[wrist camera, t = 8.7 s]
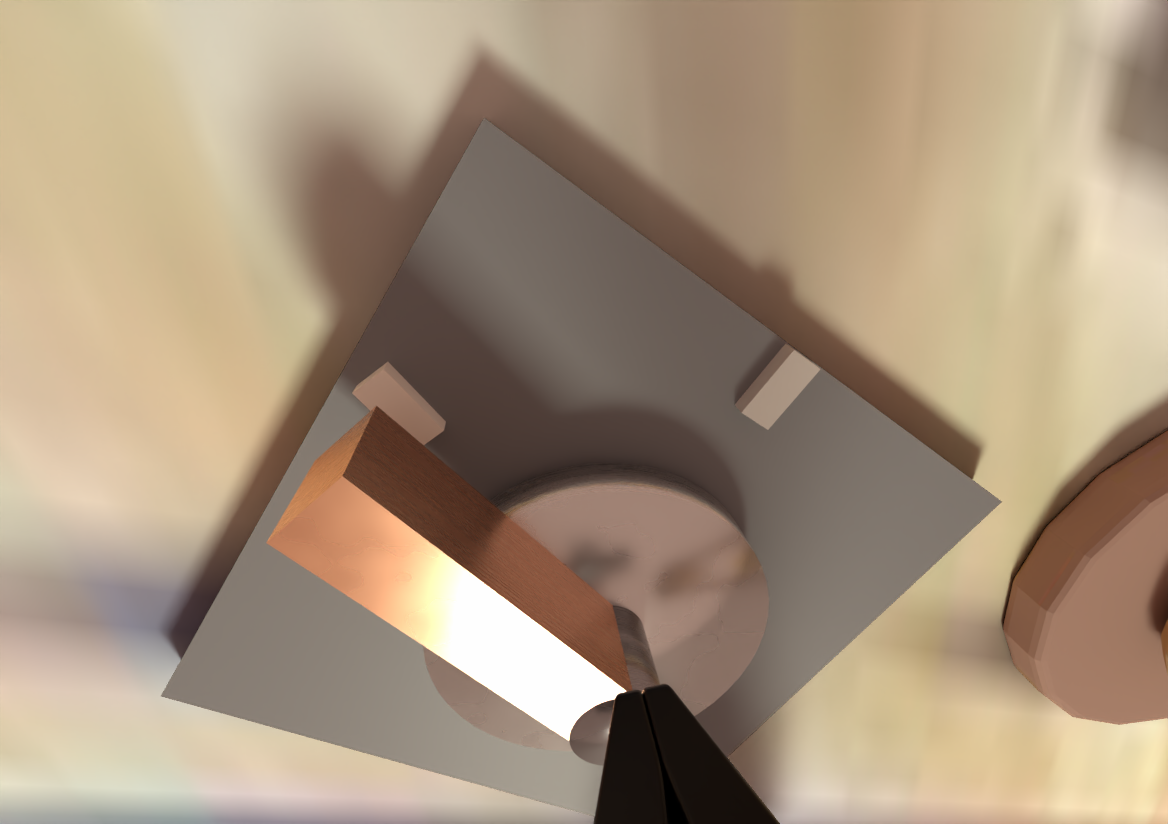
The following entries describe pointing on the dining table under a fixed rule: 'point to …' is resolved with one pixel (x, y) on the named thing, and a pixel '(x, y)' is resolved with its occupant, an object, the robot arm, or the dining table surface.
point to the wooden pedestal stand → (1100, 597)
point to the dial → (534, 581)
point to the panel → (570, 438)
